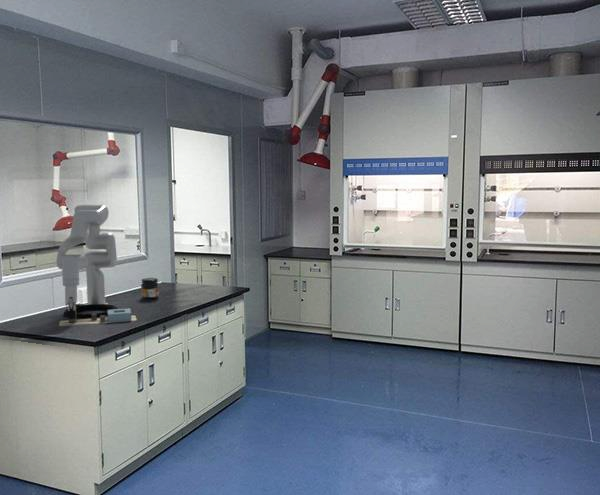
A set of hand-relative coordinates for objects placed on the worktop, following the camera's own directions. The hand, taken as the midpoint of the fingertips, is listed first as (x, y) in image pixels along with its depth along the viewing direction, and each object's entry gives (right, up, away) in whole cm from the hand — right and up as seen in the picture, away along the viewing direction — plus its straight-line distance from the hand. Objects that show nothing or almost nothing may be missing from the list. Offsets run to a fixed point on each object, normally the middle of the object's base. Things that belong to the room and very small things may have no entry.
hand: (72, 316), depth 272 cm
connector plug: (0, -3, 0) cm, 3 cm away
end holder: (+21, -2, +8) cm, 22 cm away
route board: (+11, -4, +5) cm, 13 cm away
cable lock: (0, -2, +24) cm, 24 cm away
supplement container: (+20, +3, +67) cm, 70 cm away
